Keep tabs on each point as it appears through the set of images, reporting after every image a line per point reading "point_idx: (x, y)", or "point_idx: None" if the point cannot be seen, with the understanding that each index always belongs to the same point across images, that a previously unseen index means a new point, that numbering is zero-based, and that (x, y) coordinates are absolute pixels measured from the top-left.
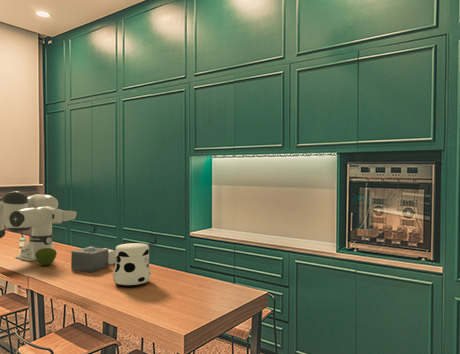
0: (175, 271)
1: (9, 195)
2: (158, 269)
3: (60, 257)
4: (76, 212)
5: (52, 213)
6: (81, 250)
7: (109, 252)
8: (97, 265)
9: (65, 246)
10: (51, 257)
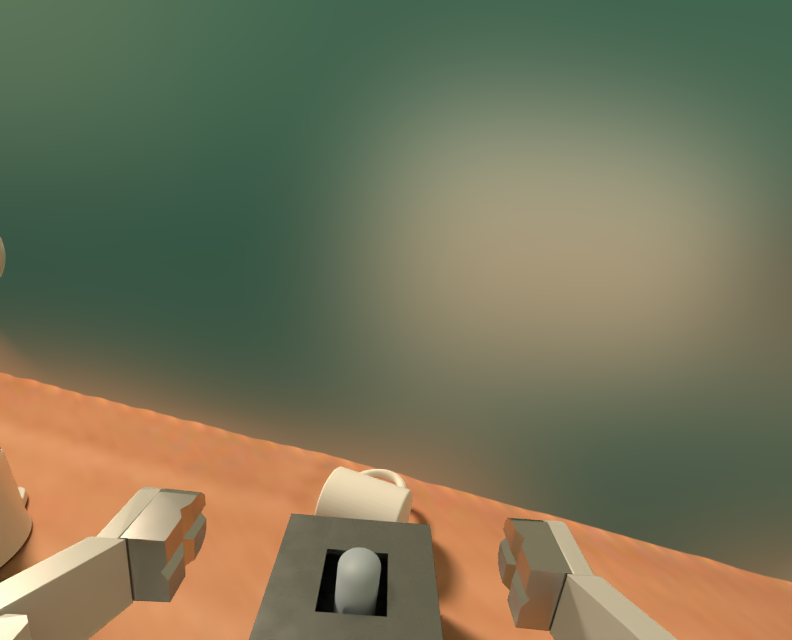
0: (707, 564)
1: None
2: (631, 560)
3: (73, 521)
4: (559, 525)
5: None
6: (303, 609)
7: (400, 514)
8: None
9: (62, 396)
10: None
